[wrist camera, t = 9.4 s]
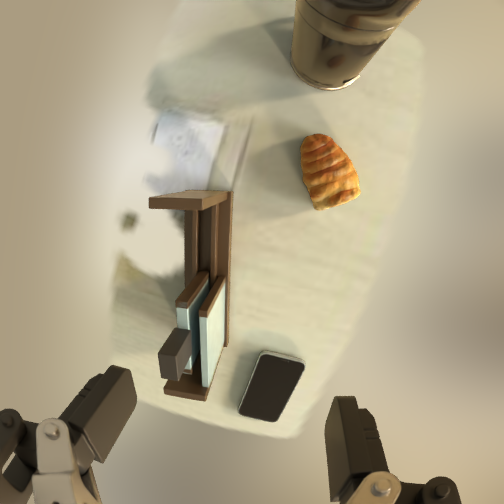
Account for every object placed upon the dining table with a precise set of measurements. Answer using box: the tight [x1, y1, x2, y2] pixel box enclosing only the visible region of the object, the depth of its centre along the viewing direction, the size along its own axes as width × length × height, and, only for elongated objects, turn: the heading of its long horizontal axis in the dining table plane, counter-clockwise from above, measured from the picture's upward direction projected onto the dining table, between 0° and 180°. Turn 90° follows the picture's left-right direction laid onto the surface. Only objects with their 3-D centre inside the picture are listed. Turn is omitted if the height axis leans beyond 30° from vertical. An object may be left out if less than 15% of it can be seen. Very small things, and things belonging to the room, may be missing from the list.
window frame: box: [149, 190, 233, 401], centre depth 33 cm, size 6×22×14 cm, turn 177°
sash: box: [158, 270, 210, 381], centre depth 31 cm, size 2×9×15 cm, turn 177°
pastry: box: [300, 134, 360, 211], centre depth 33 cm, size 9×7×4 cm
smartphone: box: [238, 351, 305, 422], centre depth 43 cm, size 7×1×15 cm
